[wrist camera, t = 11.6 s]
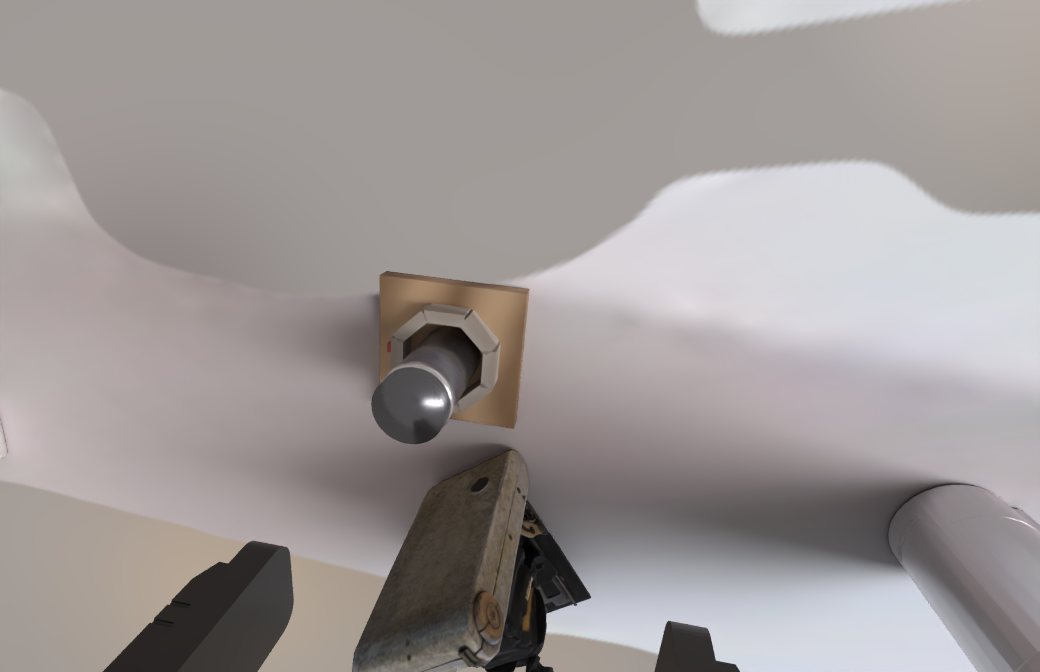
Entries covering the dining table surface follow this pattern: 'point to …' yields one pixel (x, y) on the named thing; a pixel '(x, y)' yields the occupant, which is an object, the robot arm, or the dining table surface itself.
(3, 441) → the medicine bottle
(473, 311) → the mount
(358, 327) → the dining table surface
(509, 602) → the vintage camera
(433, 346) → the lens
